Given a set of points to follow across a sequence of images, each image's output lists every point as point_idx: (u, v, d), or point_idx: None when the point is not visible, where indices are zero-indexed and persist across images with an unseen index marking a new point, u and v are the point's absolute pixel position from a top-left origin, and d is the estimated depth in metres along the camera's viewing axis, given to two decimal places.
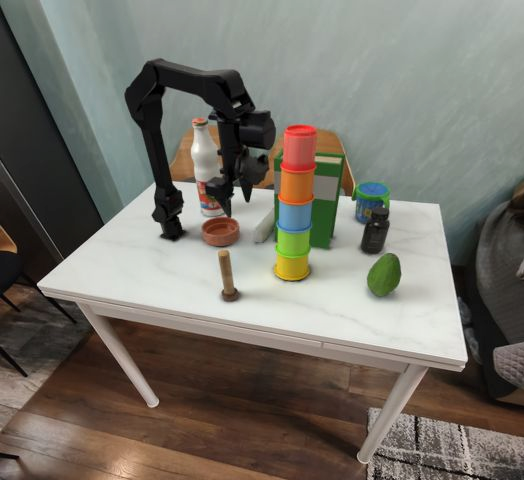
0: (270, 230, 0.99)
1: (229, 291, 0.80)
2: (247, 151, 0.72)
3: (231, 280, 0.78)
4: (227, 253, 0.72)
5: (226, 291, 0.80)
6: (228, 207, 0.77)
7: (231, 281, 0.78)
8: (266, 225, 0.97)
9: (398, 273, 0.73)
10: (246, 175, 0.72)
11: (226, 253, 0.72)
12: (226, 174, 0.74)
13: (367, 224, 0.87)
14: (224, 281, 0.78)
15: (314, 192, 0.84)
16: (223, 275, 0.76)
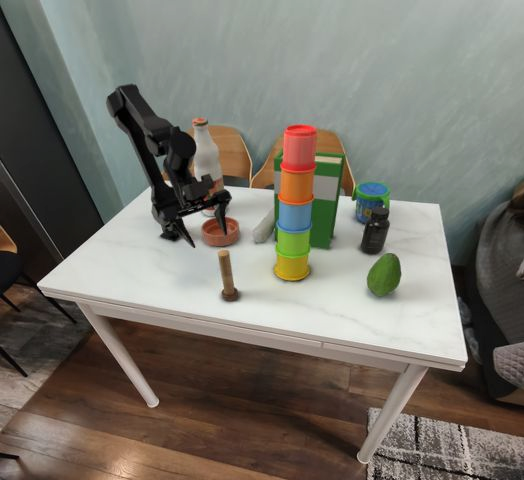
0: (270, 230, 0.99)
1: (229, 291, 0.80)
2: (193, 179, 0.73)
3: (231, 280, 0.78)
4: (227, 253, 0.72)
5: (226, 291, 0.80)
6: (185, 235, 0.75)
7: (231, 281, 0.78)
8: (266, 225, 0.97)
9: (398, 273, 0.73)
10: (186, 196, 0.71)
11: (226, 253, 0.72)
12: None
13: (367, 224, 0.87)
14: (224, 281, 0.78)
15: (315, 192, 0.84)
16: (223, 275, 0.76)
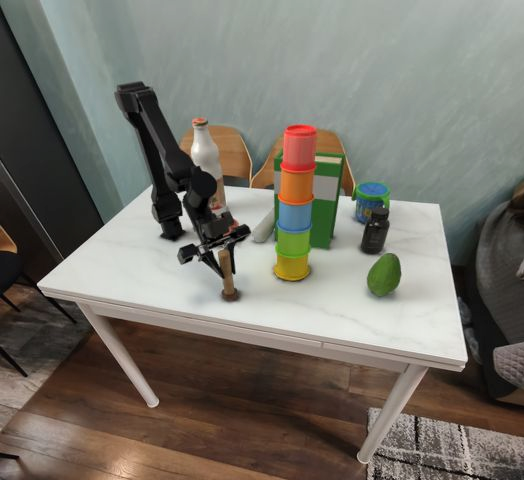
0: (270, 230, 0.99)
1: (229, 291, 0.80)
2: (213, 216, 0.72)
3: (231, 280, 0.78)
4: (227, 253, 0.72)
5: (226, 291, 0.80)
6: (215, 267, 0.74)
7: (231, 281, 0.78)
8: (266, 225, 0.97)
9: (398, 273, 0.73)
10: (206, 233, 0.69)
11: (226, 253, 0.72)
12: None
13: (367, 224, 0.87)
14: (224, 281, 0.78)
15: (315, 192, 0.84)
16: None
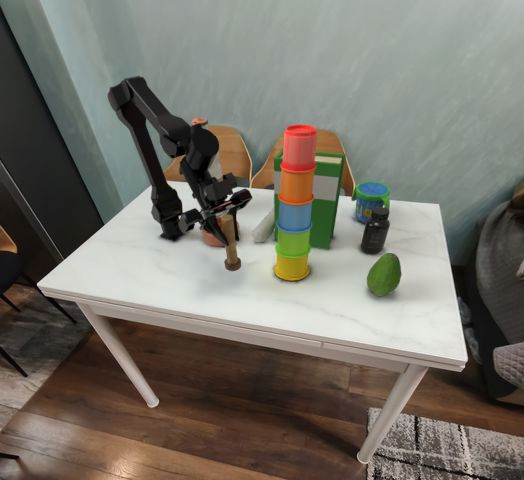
0: (270, 230, 0.99)
1: (233, 260, 0.78)
2: (213, 179, 0.70)
3: (235, 248, 0.76)
4: (231, 217, 0.70)
5: (230, 260, 0.78)
6: (218, 233, 0.72)
7: (235, 249, 0.76)
8: (266, 225, 0.97)
9: (398, 273, 0.73)
10: (209, 196, 0.67)
11: (230, 218, 0.70)
12: None
13: (367, 224, 0.87)
14: (228, 249, 0.76)
15: (315, 192, 0.84)
16: None
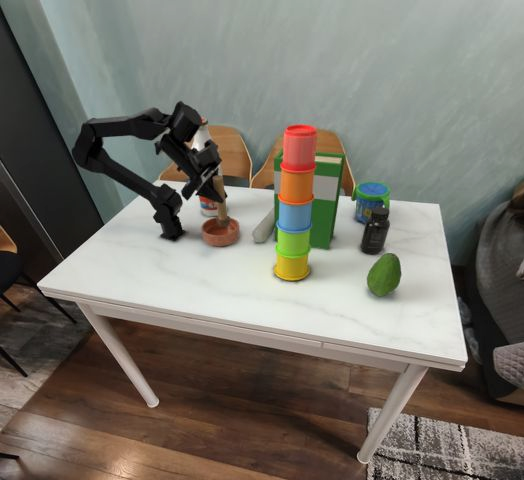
0: (270, 230, 0.99)
1: (225, 216, 0.93)
2: (194, 149, 0.83)
3: (225, 204, 0.91)
4: (221, 176, 0.85)
5: (223, 217, 0.93)
6: (214, 193, 0.86)
7: None
8: (266, 225, 0.97)
9: (398, 273, 0.73)
10: (203, 161, 0.80)
11: (221, 177, 0.85)
12: None
13: (367, 224, 0.87)
14: (221, 206, 0.90)
15: (315, 192, 0.84)
16: None
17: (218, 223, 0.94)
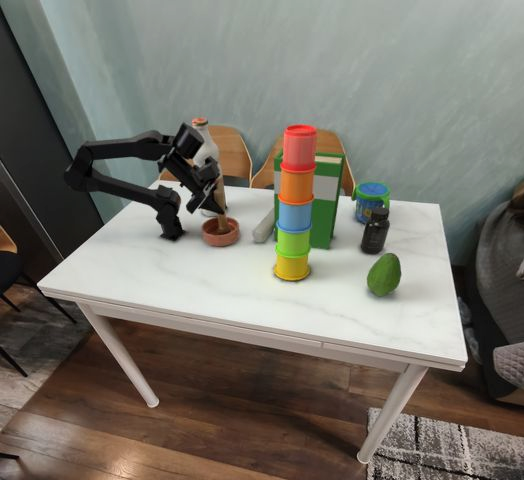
0: (270, 230, 0.99)
1: (226, 226, 0.99)
2: (196, 166, 0.88)
3: None
4: (221, 190, 0.91)
5: (224, 227, 0.99)
6: (216, 205, 0.92)
7: None
8: (266, 225, 0.97)
9: (398, 273, 0.73)
10: (205, 177, 0.86)
11: (221, 190, 0.91)
12: None
13: (367, 224, 0.87)
14: (222, 217, 0.96)
15: (315, 192, 0.84)
16: None
17: (219, 233, 1.00)
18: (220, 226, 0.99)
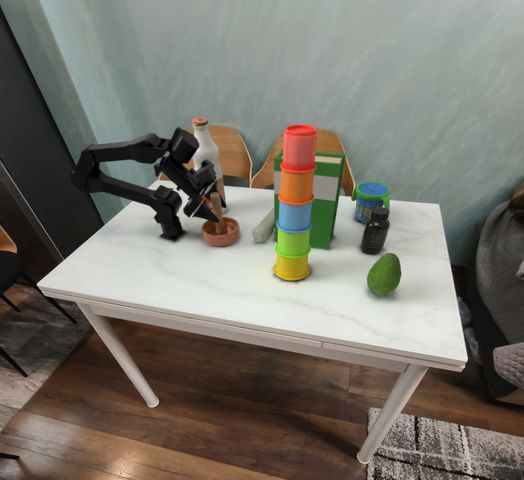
0: (270, 230, 0.99)
1: (223, 229, 0.99)
2: (192, 169, 0.88)
3: (222, 218, 0.97)
4: (218, 193, 0.91)
5: (221, 230, 0.98)
6: (210, 213, 0.90)
7: None
8: (266, 225, 0.97)
9: (398, 273, 0.73)
10: (202, 180, 0.86)
11: (218, 193, 0.91)
12: (192, 196, 0.90)
13: (367, 224, 0.87)
14: None
15: (315, 192, 0.84)
16: (218, 215, 0.94)
17: None
18: (217, 229, 0.98)
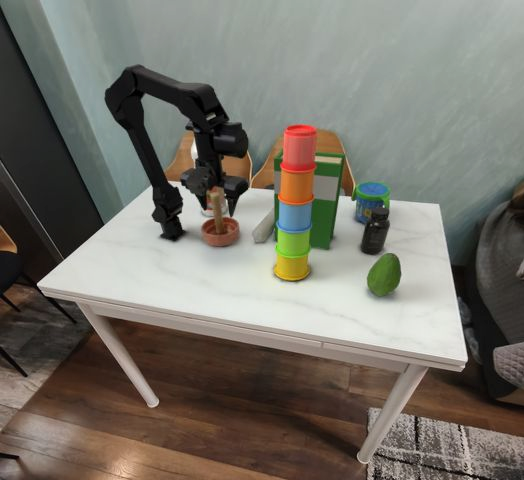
0: (270, 230, 0.99)
1: (223, 229, 0.99)
2: (207, 165, 0.75)
3: (222, 218, 0.97)
4: (218, 193, 0.91)
5: (221, 230, 0.98)
6: None
7: None
8: (266, 225, 0.97)
9: (398, 273, 0.73)
10: None
11: (218, 193, 0.91)
12: None
13: (367, 224, 0.87)
14: (219, 220, 0.96)
15: (315, 192, 0.84)
16: (218, 215, 0.94)
17: None
18: (217, 229, 0.98)
